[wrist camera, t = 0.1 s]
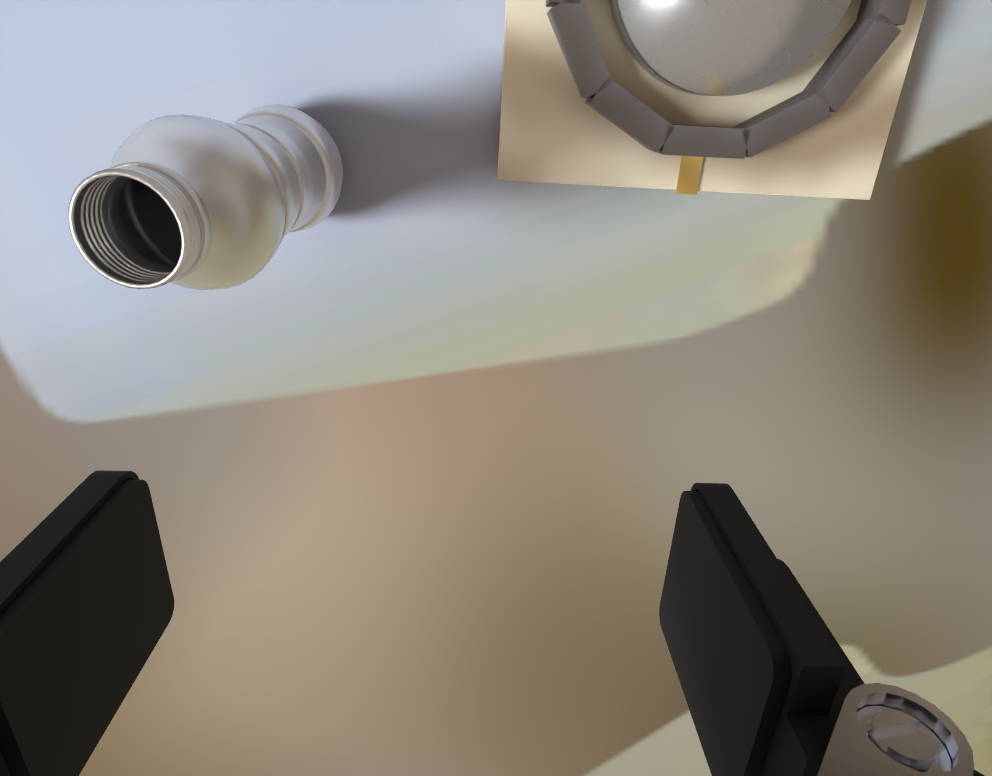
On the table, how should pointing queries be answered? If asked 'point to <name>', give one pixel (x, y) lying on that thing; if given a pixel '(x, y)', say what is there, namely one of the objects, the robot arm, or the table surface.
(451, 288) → the table surface
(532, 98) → the dial plate
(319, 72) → the table surface
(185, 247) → the plastic bottle
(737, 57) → the dial
